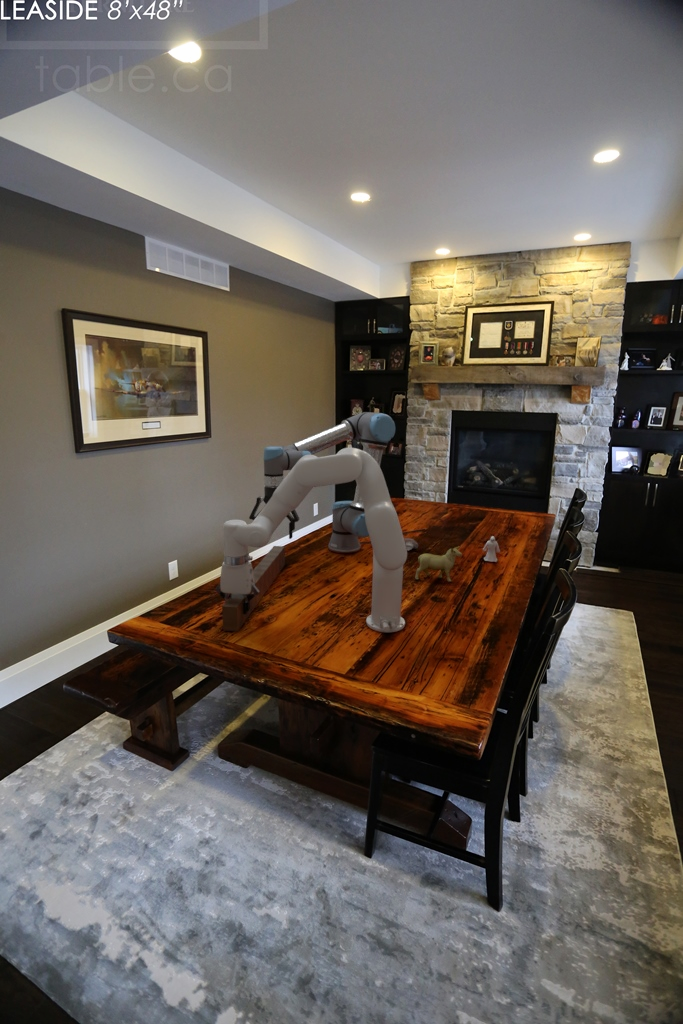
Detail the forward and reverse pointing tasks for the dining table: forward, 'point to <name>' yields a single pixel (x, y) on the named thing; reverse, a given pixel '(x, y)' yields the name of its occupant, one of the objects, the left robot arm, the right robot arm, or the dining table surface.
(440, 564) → the toy
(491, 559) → the figurine
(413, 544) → the seashell
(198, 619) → the dining table surface
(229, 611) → the bar
